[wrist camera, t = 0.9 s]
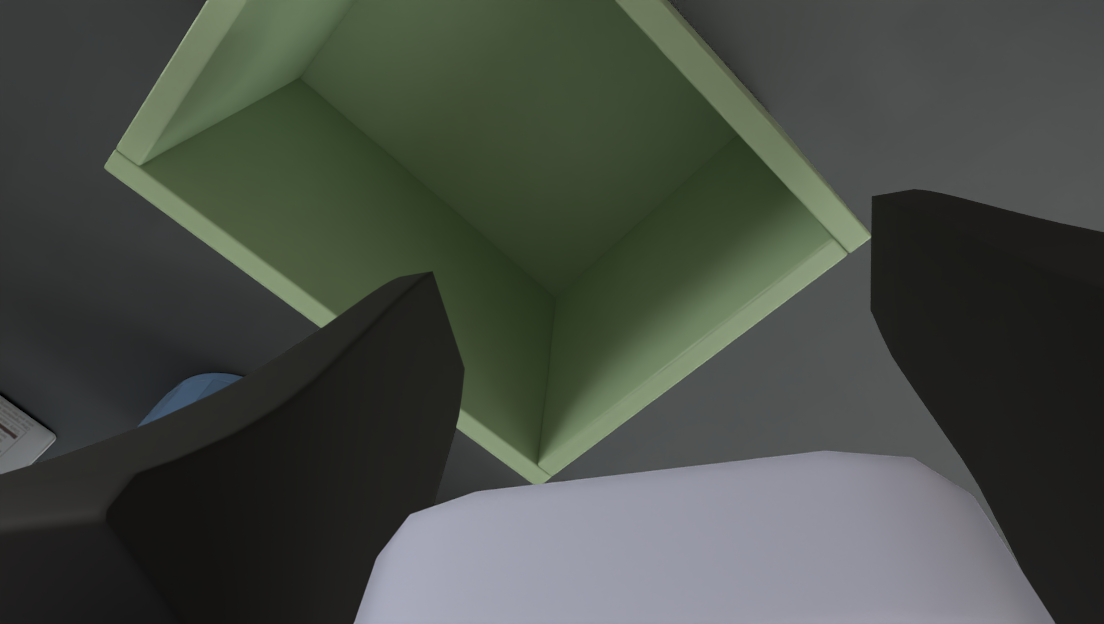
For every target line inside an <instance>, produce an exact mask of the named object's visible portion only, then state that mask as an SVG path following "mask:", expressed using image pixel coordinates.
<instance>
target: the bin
mask: <svg viewBox="0 0 1104 624" xmlns="http://www.w3.org/2000/svg"><path fill="white" fill-rule="evenodd" d="M104 168H105V169H106V170H107V171H108V172H110V173H111V174H112V175H114V176H115V177H117V178H118V179H119V180H121V181H122V182H123V183H125V184H126V185H127V186H129V187H130V188H131V189H133V190H134V191H136V192H137V193H138V194H140V195H141V196H142V197H144V198H145V199H146V200H148V201H149V202H150V203H152V204H153V205H155V206H156V207H157V208H159V209H160V210H161V211H163V212H164V213H165V214H167V215H168V216H170V217H171V218H172V219H174V220H175V221H176V222H178V223H179V224H180V225H182V226H183V227H184V228H186V229H187V230H189V231H190V232H191V233H193V234H194V235H195V236H197V237H198V238H199V239H201V240H202V241H203V242H205V243H206V244H208V245H209V246H210V247H212V248H213V249H214V250H216V251H217V252H218V253H220V254H221V255H222V256H224V257H225V258H227V259H228V260H229V261H231V262H232V263H233V264H235V265H236V266H237V267H239V268H240V269H242V270H243V271H244V272H246V273H247V274H248V275H250V276H251V277H252V278H254V279H255V280H256V281H258V282H259V283H261V284H262V285H263V286H265V287H266V288H267V289H269V290H270V291H271V292H273V293H274V294H275V295H277V296H278V297H280V298H281V299H282V300H284V301H285V302H286V303H288V304H289V305H290V306H292V307H293V308H294V309H296V310H297V311H299V312H300V313H301V314H303V315H304V316H305V317H307V318H308V319H309V320H311V321H312V322H314V323H315V324H316V325H318V326H319V327H320V328H322V327H324V326H325V325H326V324H328V323H329V322H331V321H332V320H334V319H335V318H336V317H338V316H339V315H341V314H342V313H343V312H345V311H346V310H348V309H349V308H350V307H352V306H353V305H355V304H356V303H357V302H359V301H360V300H362V299H363V298H364V297H366V296H367V295H369V294H370V293H372V292H373V291H375V290H376V289H378V288H379V287H381V286H383V285H384V284H386V283H388V282H389V281H391V280H393V279H396V278H398V277H401V276H407V275H413V274H419V273H424V272H430V271H433V274H434V277H435V280H436V283H437V286H438V289H439V292H440V295H441V298H442V301H443V304H444V307H445V310H446V313H447V316H448V319H449V322H450V325H451V328H452V331H453V334H454V337H455V340H456V343H457V346H458V349H459V352H460V355H461V358H462V361H463V364H464V367H465V372H464V382H463V391H462V399H461V406H460V413H459V418H458V422H457V426H456V428H458V429H459V430H460V431H462V432H463V433H464V434H466V435H467V436H468V437H470V438H471V439H472V440H474V441H475V442H477V443H478V444H479V445H481V446H482V447H483V448H485V449H486V450H487V451H489V452H490V453H491V454H493V455H494V456H496V457H497V458H498V459H500V460H501V461H502V462H504V463H505V464H506V465H508V466H509V467H511V468H512V469H513V470H515V471H516V472H517V473H519V474H520V475H521V476H523V477H524V478H525V479H527V480H528V481H530V482H531V483H532V484H534V485H536V484H543V483H544V482H546V481H547V480H548V479H550V478H551V476H553V475H555V474H556V473H557V472H559V471H560V470H561V469H563V468H564V467H565V466H567V465H568V464H569V463H571V462H572V461H573V460H575V459H576V458H577V457H579V456H580V455H581V454H583V453H584V452H585V451H587V450H588V449H589V448H591V447H592V446H593V445H595V444H596V443H597V442H599V441H600V440H601V439H603V438H604V437H605V436H607V435H608V434H609V433H611V432H612V431H613V430H615V429H616V428H617V427H619V426H620V425H621V424H623V423H624V422H625V421H627V420H628V419H629V418H631V417H632V416H633V415H635V414H636V413H637V412H639V411H640V410H641V409H643V408H644V407H645V406H647V405H648V404H649V403H651V402H652V401H653V400H655V399H656V398H657V397H659V396H660V395H661V394H663V393H664V392H665V391H667V390H668V389H669V388H671V387H672V386H673V385H675V384H676V383H677V382H679V381H680V380H682V379H683V378H684V377H686V376H687V375H688V374H690V373H691V372H692V371H694V370H695V369H696V368H698V367H699V366H700V365H702V364H703V363H704V362H706V361H707V360H708V359H710V358H711V357H712V356H714V355H715V354H716V353H718V352H719V351H720V350H722V349H723V348H724V347H726V346H727V345H728V344H730V343H731V342H732V341H734V340H735V339H736V338H738V337H739V336H740V335H742V334H743V333H744V332H746V331H747V330H748V329H750V328H751V327H752V326H754V325H755V324H756V323H758V322H759V321H760V320H762V319H763V318H764V317H766V316H767V315H768V314H770V313H771V312H772V311H774V310H775V309H776V308H778V307H779V306H780V305H782V304H783V303H784V302H786V301H787V300H788V299H790V298H791V297H792V296H794V295H795V294H796V293H798V292H799V291H800V290H802V289H803V288H804V287H806V286H807V285H808V284H810V283H811V282H812V281H814V280H815V279H816V278H818V277H819V276H820V275H822V274H823V273H824V272H826V271H827V270H828V269H830V268H831V267H832V266H834V265H835V264H836V263H838V262H839V261H840V260H842V259H843V258H844V257H846V256H847V252H849V253H851V252H853V251H854V250H855V249H857V248H858V247H859V246H861V245H862V244H863V243H865V242H866V241H867V240H869V239H870V238H871V234H870V233H869V232H868V230H867V229H866V228H865V227H864V226H863V224H862V223H861V222H860V221H859V220H858V218H857V217H856V216H855V215H854V214H853V212H852V211H851V210H850V209H849V208H848V207H847V205H846V204H845V203H844V202H843V201H842V199H841V198H840V197H839V196H838V195H837V193H836V192H835V191H834V190H833V189H832V188H831V186H830V185H829V184H828V183H827V182H826V180H825V179H824V178H823V177H822V176H821V174H820V173H819V172H818V171H817V170H816V168H815V167H814V166H813V165H812V164H811V163H810V161H809V160H808V159H807V158H806V157H805V155H804V154H803V153H802V152H801V151H800V149H799V148H798V147H797V146H796V145H795V143H794V142H793V141H792V140H791V139H790V138H789V136H788V135H787V134H786V133H785V132H784V130H783V129H782V128H781V127H780V126H779V124H778V123H777V122H776V121H775V120H774V119H773V117H772V116H771V115H770V114H769V113H768V112H767V111H766V109H765V108H764V107H763V106H762V105H761V104H760V103H759V102H758V100H757V99H756V98H755V97H754V96H753V95H752V94H751V93H750V92H749V90H748V89H747V88H746V87H745V86H744V85H743V84H742V83H741V81H740V80H739V79H738V78H737V77H736V76H735V75H734V74H733V73H732V71H731V70H730V69H729V68H728V67H727V66H726V65H725V64H724V62H723V61H722V60H721V59H720V58H719V57H718V56H717V55H716V53H715V52H714V51H713V50H712V49H711V48H710V47H709V46H708V45H707V43H706V42H705V41H704V40H703V39H702V38H701V37H700V36H699V34H698V33H697V32H696V31H695V30H694V29H693V28H692V27H691V26H690V24H689V23H688V22H687V21H686V20H685V19H684V18H683V17H682V15H681V14H680V13H679V12H678V11H677V10H676V9H675V8H674V6H673V5H672V4H671V3H670V2H669V1H668V0H207V1H206V3H205V4H204V6H203V8H202V9H201V11H200V13H199V14H198V16H197V17H196V19H195V21H194V22H193V24H192V25H191V27H190V29H189V30H188V32H187V34H186V35H185V37H184V38H183V40H182V42H181V43H180V45H179V47H178V48H177V50H176V51H175V53H174V55H173V56H172V58H171V60H170V61H169V63H168V64H167V66H166V68H165V69H164V71H163V72H162V74H161V76H160V77H159V79H158V81H157V82H156V84H155V85H154V87H153V89H152V90H151V92H150V94H149V95H148V97H147V98H146V100H145V102H144V103H143V105H142V106H141V108H140V110H139V111H138V113H137V115H136V116H135V118H134V119H133V121H132V123H131V124H130V126H129V128H128V129H127V131H126V132H125V134H124V136H123V137H122V139H121V140H120V142H119V144H118V145H117V149H116V150H114V151H113V153H112V155H111V156H110V158H109V159H108V161H107V163H106V164H105V166H104Z"/></svg>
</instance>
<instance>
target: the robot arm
mask: <svg viewBox="0 0 1104 624" xmlns="http://www.w3.org/2000/svg"><path fill="white" fill-rule="evenodd" d="M871 312H872V314H873V316H874V318H875V321H876V323H877V325H878V327H879V330H880V332H881V334H882V336H883V339H884V341H885V343H886V345H887V347H888V349H889V351H890V353H891V355H892V357H893V358H894V360H895V362H896V363H897V365H898V366H899V368H900V369H901V371H902V372H903V374H904V375H905V377H906V378H907V380H908V381H909V383H910V384H911V386H912V387H913V388H914V390H915V391H916V393H917V394H918V396H919V397H920V399H921V400H922V402H923V403H924V405H925V406H926V407H927V409H928V410H929V412H930V413H931V415H932V416H933V418H934V419H935V420H936V422H937V423H938V425H939V426H940V428H941V429H942V431H943V432H944V433H945V435H946V436H947V438H948V439H949V441H950V442H951V444H952V445H953V447H954V448H955V449H956V451H957V452H958V454H959V455H960V457H961V458H962V460H963V461H964V463H965V464H966V466H967V468H968V469H969V471H970V472H971V474H972V476H973V477H974V479H975V481H976V482H977V484H978V485H979V487H980V489H981V491H982V493H983V495H984V497H985V499H986V501H987V503H988V504H989V506H990V508H991V510H992V512H993V514H994V516H995V518H996V520H997V522H998V524H999V526H1000V527H1001V529H1002V531H1003V533H1004V535H1005V537H1006V539H1007V541H1008V543H1009V545H1010V547H1011V549H1012V551H1013V553H1014V555H1015V557H1016V559H1017V561H1018V563H1019V565H1020V567H1021V569H1022V571H1023V572H1022V571H1021V569H1020V567H1019V566H1018V564H1017V563H1016V561H1015V560H1014V558H1013V557H1012V555H1011V553H1010V552H1009V550H1008V549H1007V547H1006V546H1005V544H1004V543H1003V541H1002V539H1001V538H1000V536H999V535H998V533H997V532H996V530H995V529H994V527H993V525H992V524H991V522H990V521H989V519H988V518H987V516H986V514H985V513H984V511H983V510H982V508H981V507H980V505H979V504H978V502H977V500H976V499H975V497H974V496H973V495H972V494H970V493H969V492H967V491H966V490H964V489H962V488H961V487H959V486H958V485H956V484H954V483H953V482H951V481H950V480H948V479H946V478H945V477H943V476H942V475H940V474H938V473H937V472H935V471H934V470H932V469H930V468H929V467H927V466H926V465H924V464H922V463H921V462H919V461H917V460H916V459H914V458H913V457H900V456H887V455H875V454H862V453H849V452H836V451H818V452H810V453H801V454H793V455H784V456H776V457H767V458H758V459H750V460H741V461H733V462H724V463H716V464H707V465H699V466H690V467H682V468H673V469H664V470H656V471H647V472H639V473H630V474H622V475H613V476H605V477H596V478H587V479H579V480H570V481H562V482H553V483H545V484H536V485H528V486H519V487H510V488H502V489H493V490H485V491H476V492H473V493H471V494H468V495H465V496H462V497H459V498H456V499H453V500H450V501H447V502H444V503H442V504H439V505H436V506H433V505H434V502H435V498H436V495H437V491H438V488H439V485H440V481H441V478H442V474H443V471H444V468H445V464H446V461H447V457H448V454H449V451H450V447H451V443H452V440H453V436H454V433H455V429H456V426H457V422H458V418H459V413H460V406H461V399H462V391H463V382H464V372H465V367H464V364H463V361H462V358H461V355H460V352H459V349H458V346H457V343H456V340H455V337H454V334H453V331H452V328H451V325H450V322H449V319H448V316H447V313H446V310H445V307H444V304H443V301H442V298H441V295H440V292H439V289H438V286H437V283H436V280H435V277H434V274H433V271H430V272H424V273H419V274H413V275H407V276H401V277H398V278H396V279H393V280H391V281H389V282H388V283H386V284H384V285H383V286H381V287H379V288H378V289H376V290H375V291H373V292H372V293H370V294H369V295H367V296H366V297H364V298H363V299H362V300H360V301H359V302H357V303H356V304H355V305H353V306H352V307H350V308H349V309H348V310H346V311H345V312H343V313H342V314H341V315H339V316H338V317H336V318H335V319H334V320H332V321H331V322H329V323H328V324H326V325H325V326H324V327H322V328H321V329H319V330H318V331H316V332H315V333H313V334H312V335H310V336H309V337H307V338H306V339H304V340H303V341H301V342H300V343H298V344H297V345H295V346H294V347H292V348H291V349H289V350H288V351H286V352H285V353H283V354H282V355H280V356H279V357H277V358H275V359H274V360H272V361H270V362H269V363H267V364H266V365H264V366H262V367H260V368H259V369H257V370H255V371H254V372H252V373H250V374H248V375H247V376H245V377H243V378H241V379H239V380H237V381H235V382H234V383H232V384H230V385H228V386H226V387H224V388H223V389H221V390H219V391H217V392H215V393H213V394H211V395H209V396H207V397H204V398H202V399H200V400H198V401H196V402H194V403H191V404H189V405H187V406H185V407H183V408H180V409H178V410H176V411H174V412H172V413H170V414H167V415H165V416H163V417H161V418H159V419H156V420H154V421H152V422H150V423H147V424H145V425H142V426H140V427H137V428H135V429H132V430H130V431H127V432H125V433H122V434H120V435H117V436H115V437H112V438H109V439H106V440H104V441H101V442H98V443H95V444H93V445H90V446H87V447H84V448H82V449H79V450H76V451H73V452H70V453H67V454H64V455H61V456H58V457H55V458H52V459H49V460H46V461H42V462H39V463H36V464H33V465H29V466H26V467H23V468H19V469H16V470H13V471H10V472H6V473H3V474H0V624H1104V232H1100V231H1095V230H1090V229H1085V228H1081V227H1076V226H1071V225H1066V224H1062V223H1057V222H1053V221H1049V220H1045V219H1040V218H1036V217H1032V216H1028V215H1024V214H1020V213H1016V212H1013V211H1009V210H1005V209H1001V208H997V207H993V206H990V205H986V204H982V203H978V202H974V201H971V200H967V199H963V198H959V197H955V196H951V195H946V194H942V193H937V192H932V191H926V190H916V189H913V190H907V191H901V192H895V193H889V194H883V195H877V196H872V233H871ZM1023 573H1024V574H1023Z"/></svg>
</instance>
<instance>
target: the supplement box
mask: <svg viewBox="0 0 1104 624" xmlns="http://www.w3.org/2000/svg"><path fill="white" fill-rule="evenodd" d="M55 439H56V436H55V434H54V433H52V432H51V431H50V430H48V429H47V428H45V427H44V426H42V425H41V424H39V423H38V422H36V421H35V420H34V419H32V418H31V417H29V416H28V415H27V414H25V413H24V412H22V411H21V410H20V409H18V408H17V407H15V406H14V405H13V404H11V403H10V402H9V401H7V400H6V399H4V398H3V397H2V396H0V474H3V473H6V472H10V471H13V470H16V469H19V468H23V467H26V466H29V465H31V464H32V463H33V462H34V461H35V460H36V459H37V458H38V457H39V456H40V455H41V454H42V453H43V452H44V451H45V450H46V449H47V448H48V447H49V446H50V445H51V444H52V443H53V442H54V441H55Z"/></svg>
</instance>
